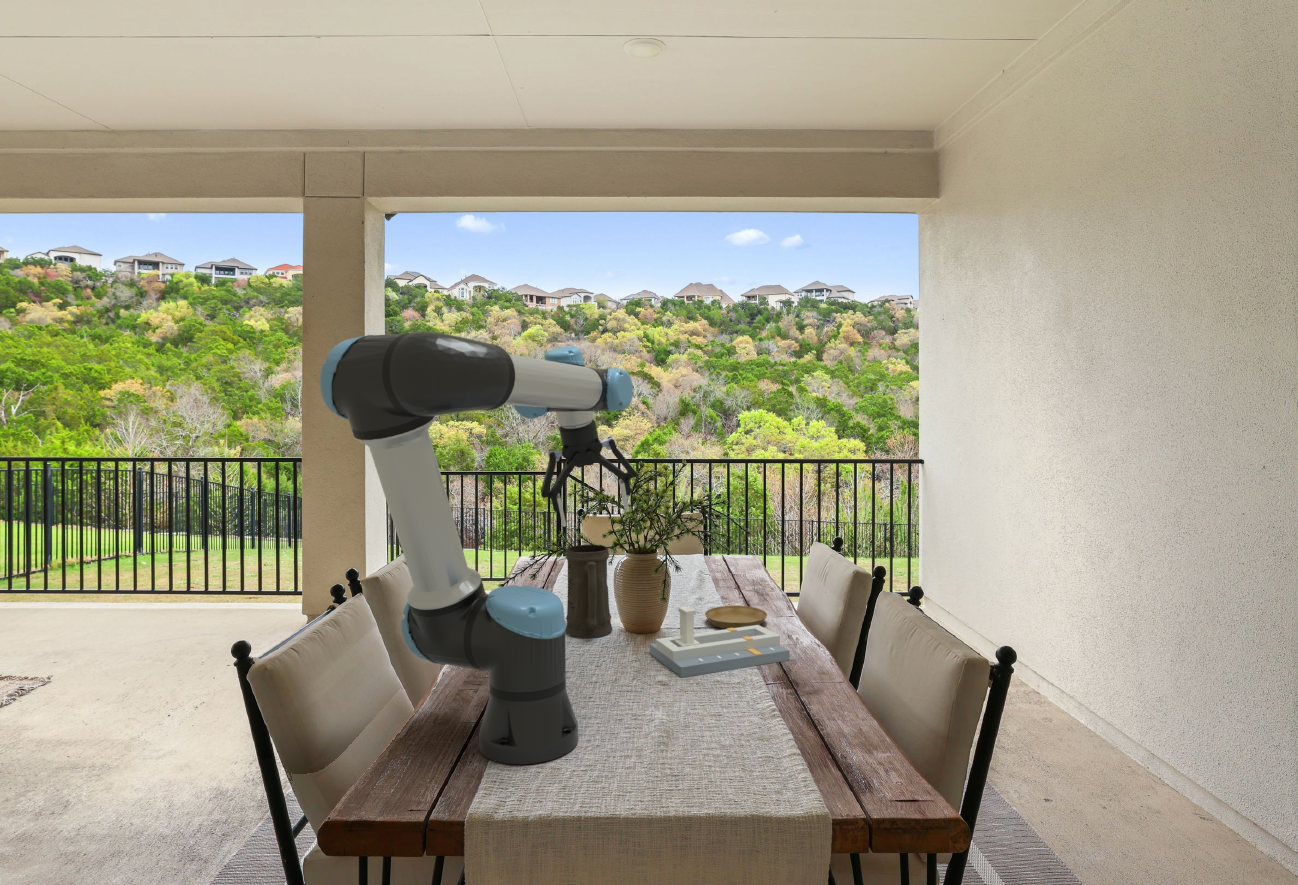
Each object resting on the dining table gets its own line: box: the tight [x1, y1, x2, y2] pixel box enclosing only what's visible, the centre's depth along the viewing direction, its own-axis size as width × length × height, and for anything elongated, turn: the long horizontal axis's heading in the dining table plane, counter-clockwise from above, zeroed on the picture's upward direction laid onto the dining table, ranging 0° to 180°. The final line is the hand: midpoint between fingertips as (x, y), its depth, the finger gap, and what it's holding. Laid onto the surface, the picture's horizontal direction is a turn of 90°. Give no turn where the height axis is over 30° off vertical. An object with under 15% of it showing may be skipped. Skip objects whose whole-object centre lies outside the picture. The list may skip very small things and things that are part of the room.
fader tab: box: [674, 606, 700, 647], centre depth 153 cm, size 4×4×8 cm
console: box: [649, 624, 791, 679], centre depth 156 cm, size 16×24×4 cm, turn 112°
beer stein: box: [565, 544, 613, 639], centre depth 172 cm, size 15×11×20 cm
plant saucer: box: [704, 605, 768, 630], centre depth 180 cm, size 15×15×3 cm
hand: (595, 516), depth 161 cm, fingers open, 13 cm apart
